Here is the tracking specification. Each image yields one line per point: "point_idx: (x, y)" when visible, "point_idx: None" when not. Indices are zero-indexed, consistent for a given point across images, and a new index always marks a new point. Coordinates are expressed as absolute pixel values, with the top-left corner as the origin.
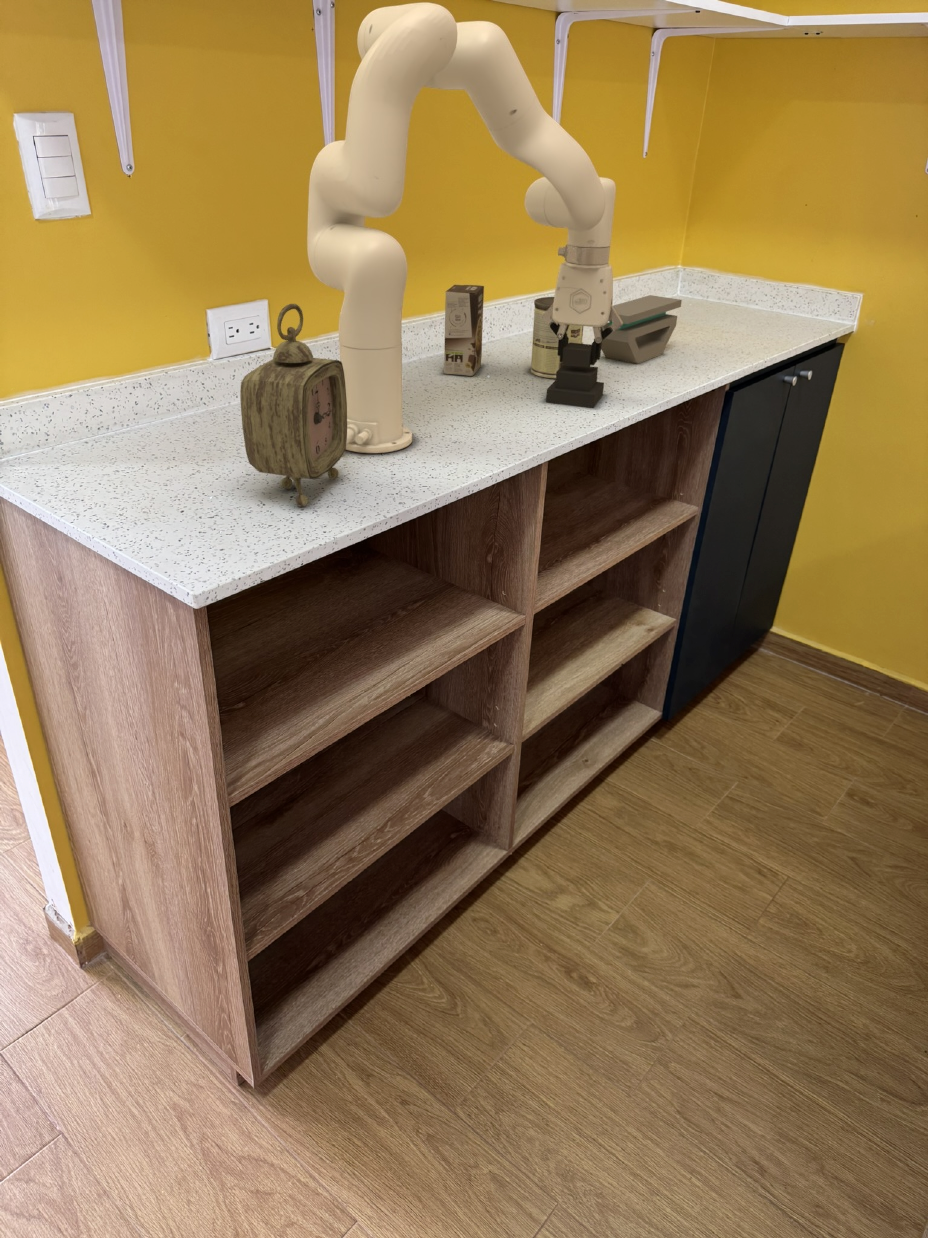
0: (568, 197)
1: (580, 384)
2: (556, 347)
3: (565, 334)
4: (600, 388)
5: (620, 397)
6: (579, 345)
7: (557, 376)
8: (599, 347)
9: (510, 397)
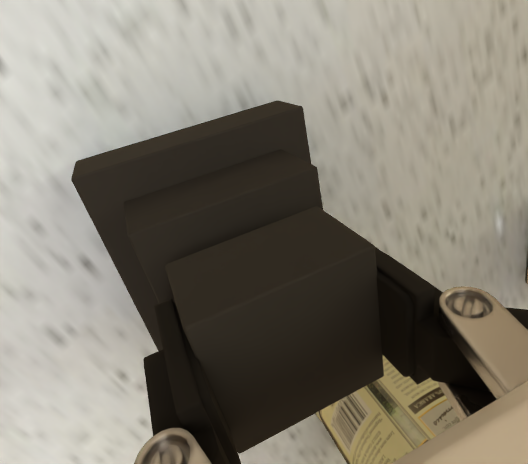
0: None
1: (174, 194)
2: (419, 407)
3: (441, 357)
4: (131, 295)
5: (87, 351)
6: (313, 372)
7: (298, 163)
8: (152, 416)
9: (402, 70)
